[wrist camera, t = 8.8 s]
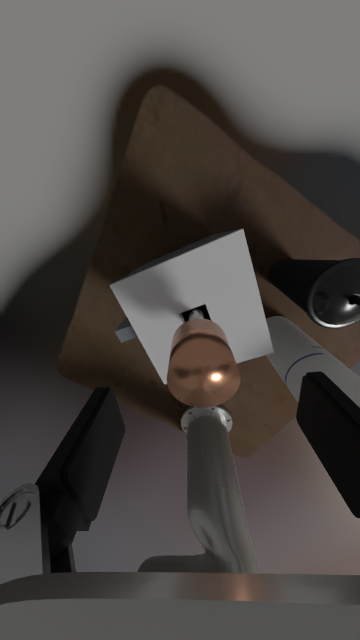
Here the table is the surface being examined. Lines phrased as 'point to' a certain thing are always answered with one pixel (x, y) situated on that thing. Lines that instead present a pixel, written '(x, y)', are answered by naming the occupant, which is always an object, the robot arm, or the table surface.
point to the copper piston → (201, 363)
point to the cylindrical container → (306, 359)
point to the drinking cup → (322, 289)
